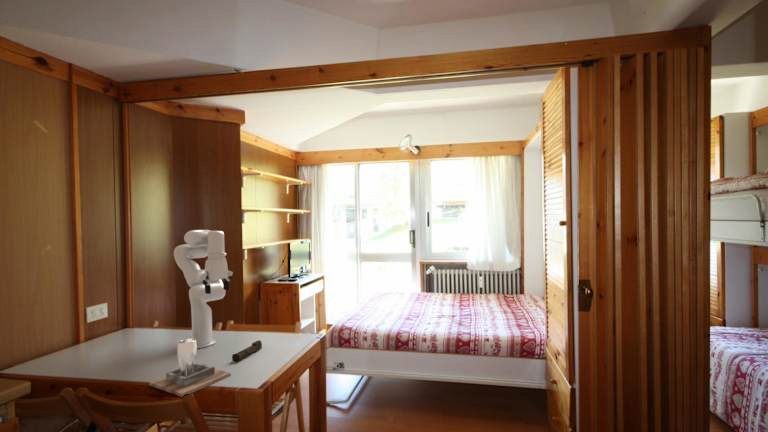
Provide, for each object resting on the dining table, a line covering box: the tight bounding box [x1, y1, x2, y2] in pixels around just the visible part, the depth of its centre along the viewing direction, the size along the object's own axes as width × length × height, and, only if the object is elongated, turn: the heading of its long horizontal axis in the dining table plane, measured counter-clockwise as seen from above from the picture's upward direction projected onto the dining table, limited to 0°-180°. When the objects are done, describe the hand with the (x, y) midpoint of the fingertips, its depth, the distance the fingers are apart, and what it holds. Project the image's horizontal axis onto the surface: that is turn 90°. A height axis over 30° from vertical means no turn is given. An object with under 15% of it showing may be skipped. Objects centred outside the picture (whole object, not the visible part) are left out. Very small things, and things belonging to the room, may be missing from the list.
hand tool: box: [231, 339, 263, 363], centre depth 170 cm, size 19×4×5 cm, turn 160°
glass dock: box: [149, 361, 231, 398], centre depth 143 cm, size 22×20×4 cm
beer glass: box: [176, 337, 198, 377], centre depth 142 cm, size 7×7×15 cm
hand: (217, 291), depth 172 cm, fingers open, 9 cm apart
